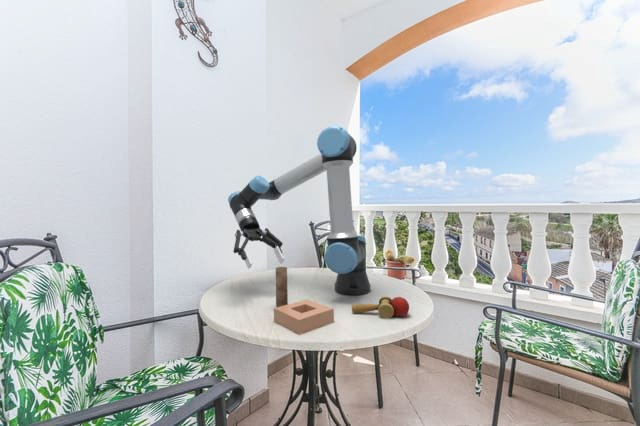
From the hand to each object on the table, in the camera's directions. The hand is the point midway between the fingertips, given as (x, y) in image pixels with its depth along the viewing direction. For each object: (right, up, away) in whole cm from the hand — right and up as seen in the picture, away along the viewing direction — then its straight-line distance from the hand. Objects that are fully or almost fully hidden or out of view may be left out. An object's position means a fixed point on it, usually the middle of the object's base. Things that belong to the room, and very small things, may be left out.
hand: (267, 263), depth 107 cm
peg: (+6, -14, -6) cm, 17 cm away
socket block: (+15, -14, -19) cm, 28 cm away
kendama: (+39, -14, -14) cm, 44 cm away
